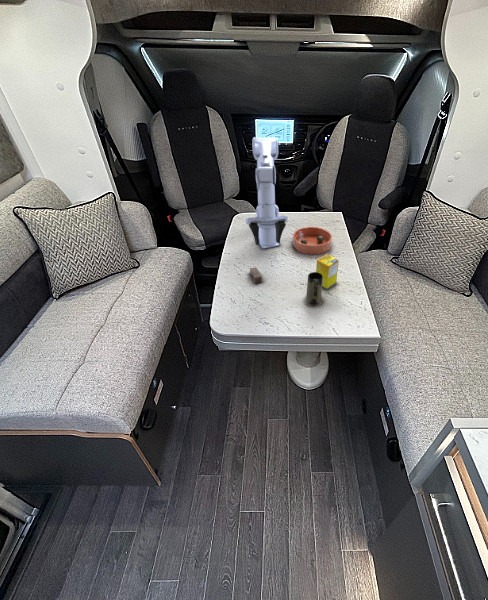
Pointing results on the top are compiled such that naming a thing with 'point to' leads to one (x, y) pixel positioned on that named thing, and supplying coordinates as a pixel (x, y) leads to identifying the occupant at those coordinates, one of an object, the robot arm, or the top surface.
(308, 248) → the bowl
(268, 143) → the robot arm
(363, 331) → the top surface
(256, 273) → the brown wooden block
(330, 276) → the supplement box
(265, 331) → the top surface
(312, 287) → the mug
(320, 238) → the bead
